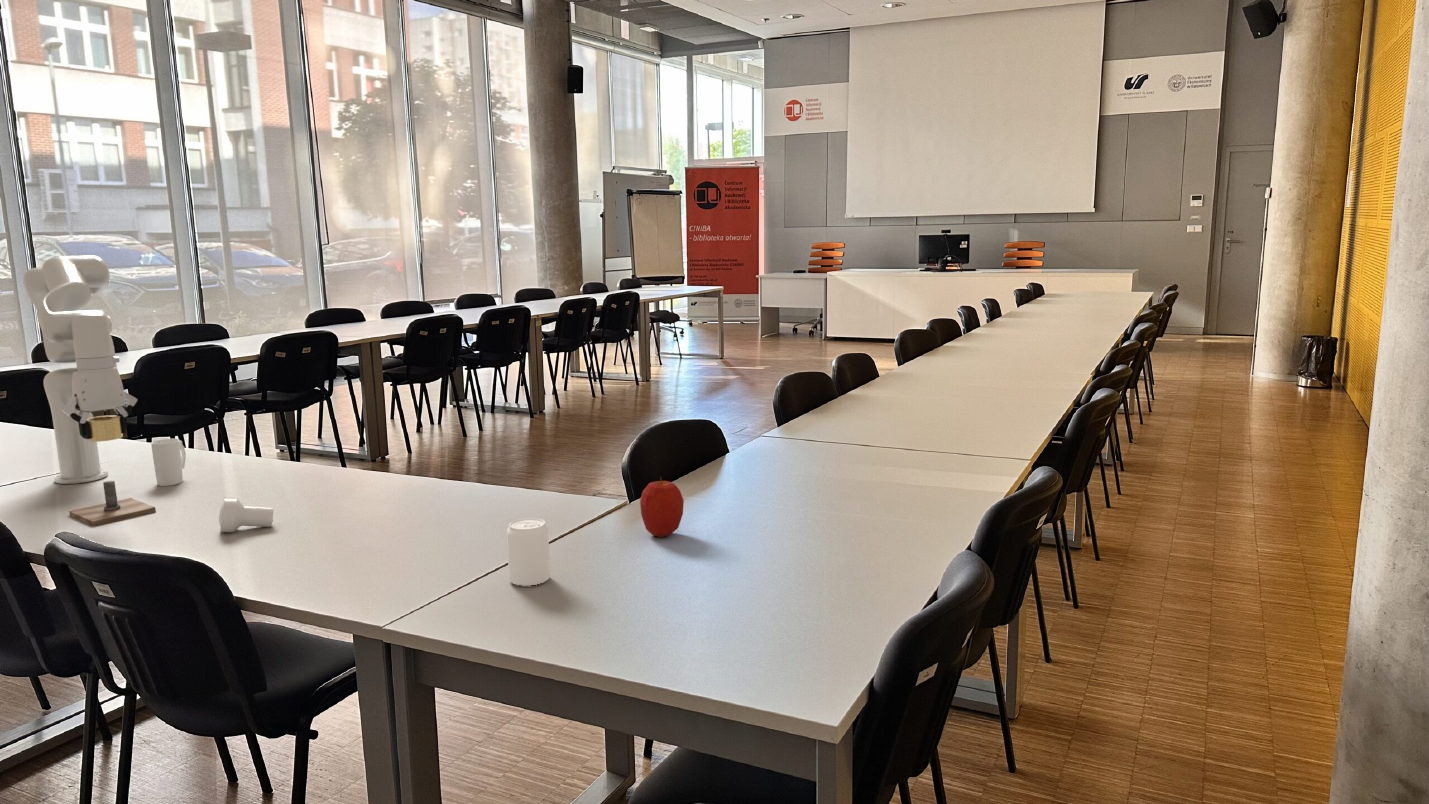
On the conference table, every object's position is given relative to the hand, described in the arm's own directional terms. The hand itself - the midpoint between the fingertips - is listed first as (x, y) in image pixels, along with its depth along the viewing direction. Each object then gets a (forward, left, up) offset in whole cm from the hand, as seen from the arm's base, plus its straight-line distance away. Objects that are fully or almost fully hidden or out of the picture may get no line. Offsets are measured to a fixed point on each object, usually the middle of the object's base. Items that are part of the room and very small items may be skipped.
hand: (104, 435), depth 228 cm
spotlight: (+39, +13, -20) cm, 46 cm away
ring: (0, 0, -1) cm, 1 cm away
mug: (-19, +23, -20) cm, 36 cm away
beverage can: (+118, +30, -20) cm, 124 cm away
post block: (0, 0, -20) cm, 20 cm away
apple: (+122, +67, -20) cm, 141 cm away
